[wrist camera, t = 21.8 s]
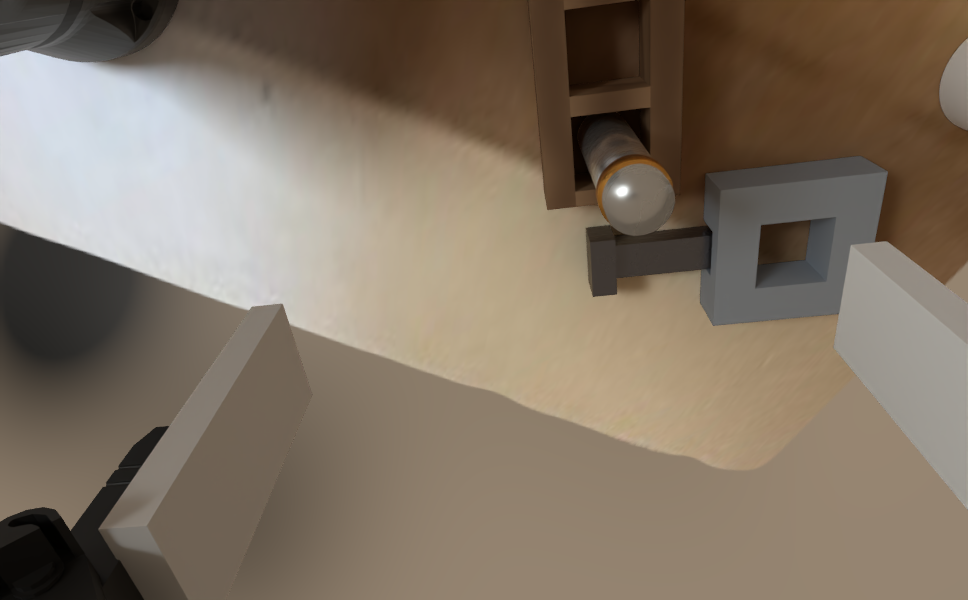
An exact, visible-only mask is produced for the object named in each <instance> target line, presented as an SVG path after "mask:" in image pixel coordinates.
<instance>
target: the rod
mask: <svg viewBox="0 0 968 600" xmlns="http://www.w3.org/2000/svg"><path fill="white" fill-rule="evenodd" d="M578 144H579V147H580V149H581V152H582V155H583V157H584V160H585V162H586V165H587V167H588V170H589V173H590V175H591V178H592V180H593V183H594V185H595V188H596V199H597V202H598V205H599V208H600V210H601V213H602V215H603V216H604V218H605V219H606V220H607V221H608V222H609V223H610V224H611V225H612V226H613V227H614V228H615V229H616V230H618V231H619V232H621V233H624V234H627V235H632V236H640V235H645V234H649V233H651V232H654V231H655V230H657V229H659V228H660V227H661V226H662V225H664V224H665V222H666V221H667V220H668V219H669V217H670V216H671V214H672V211H673V209H674V205H675V194H674V190H673V184H672V181H671V178H670V176H669V175H668V173H667V172H666V171H665V169H664V168H663V166H662V165H661V164H660V163H659V162H658V161H656V160H655V159H653V158H652V157H651V156H650V154H649V153H648V151H647V150H646V149H645V147H644V146H643V144H642V143H641V141H640V140H639V139H638V137H637V136H636V134H635V133H634V132H633V130H632V129H631V127H630V126H629V125H628V123H627V122H626V120H625V119H624V118H623V117H622V116H621V115H620V114H619V113H617V112H608V113H600V114H592V115H588V116H587V117H586V118H585V119H584V120H583V122H582V123H581V125H580V127H579V130H578Z"/></svg>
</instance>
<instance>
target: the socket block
mask: <svg viewBox="0 0 968 600" xmlns="http://www.w3.org/2000/svg"><path fill="white" fill-rule="evenodd" d="M887 174H888V171H886V170H884V169H883V168H881V167H879V166H877V165H876V164H874V163H872V162H871V161H869V160H867V159H865V158H864V157H862V156H855V157H846V158H837V159H829V160H820V161H811V162H802V163H794V164H785V165H776V166H768V167H759V168H750V169H741V170H733V171H724V172H715V173H706V177H705V199H704V221H705V222H706V224H707V225H708V226H709V228H710V229H711V230H712V232H713V236H712V255H711V269H701V290H700V303H701V305H702V307H703V309H704V310H705V312H706V314H707V316H708V318H709V319H710V321H711V323H712V325H713V326H715V325H726V324H736V323H747V322H758V321H768V320H779V319H789V318H800V317H810V316H821V315H832V314H839V312H840V306H841V300H842V294H843V288H844V282H845V277H846V271H847V265H848V259H849V253H850V247H851V245H855V244H865V243H874V242H875V238H876V232H877V227H878V222H879V216H880V211H881V206H882V201H883V195H884V190H885V185H886V180H887ZM804 220H811V223H810V231H809V238H808V245H807V253H806V260H801V261H791V262H781V263H771V264H761V265H757V263H758V252H759V241H760V230H761V225H767V224H776V223H785V222H795V221H804Z"/></svg>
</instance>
